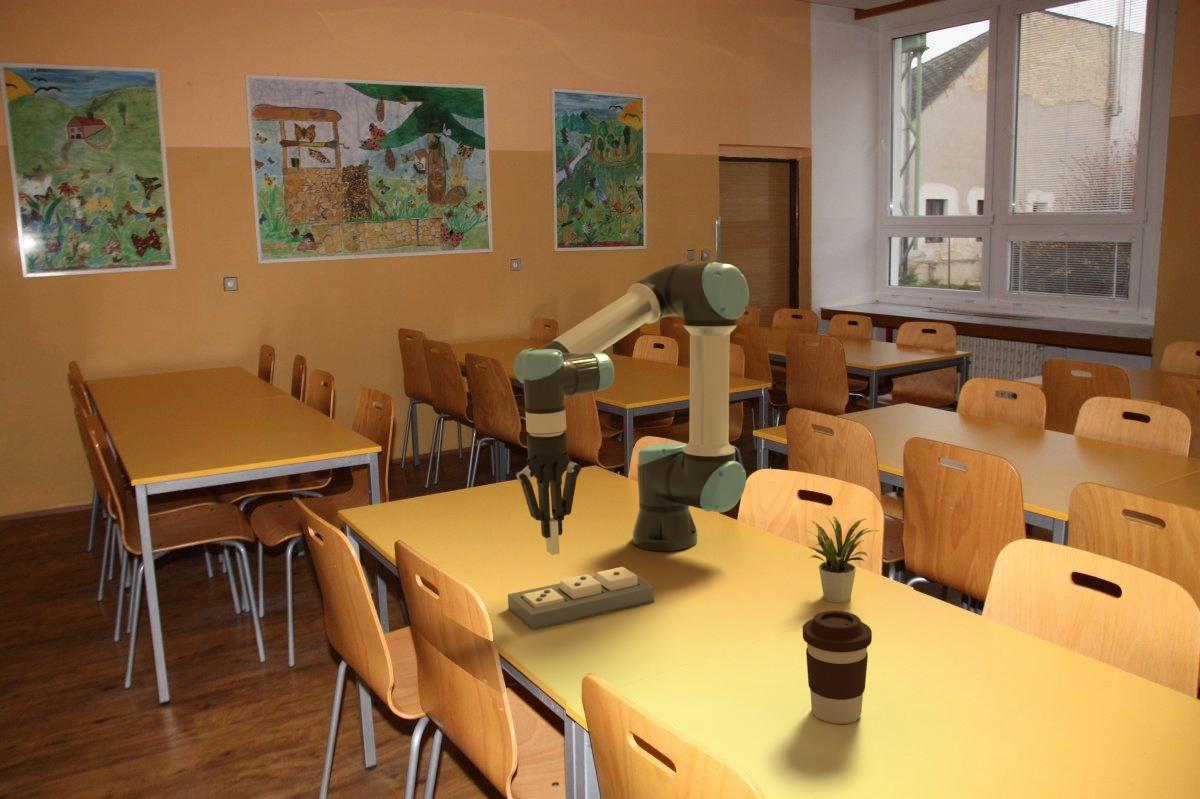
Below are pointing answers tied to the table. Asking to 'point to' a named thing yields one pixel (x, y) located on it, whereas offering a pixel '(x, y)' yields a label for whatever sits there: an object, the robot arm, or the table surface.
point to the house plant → (838, 561)
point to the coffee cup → (836, 664)
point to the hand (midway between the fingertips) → (553, 552)
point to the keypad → (578, 604)
